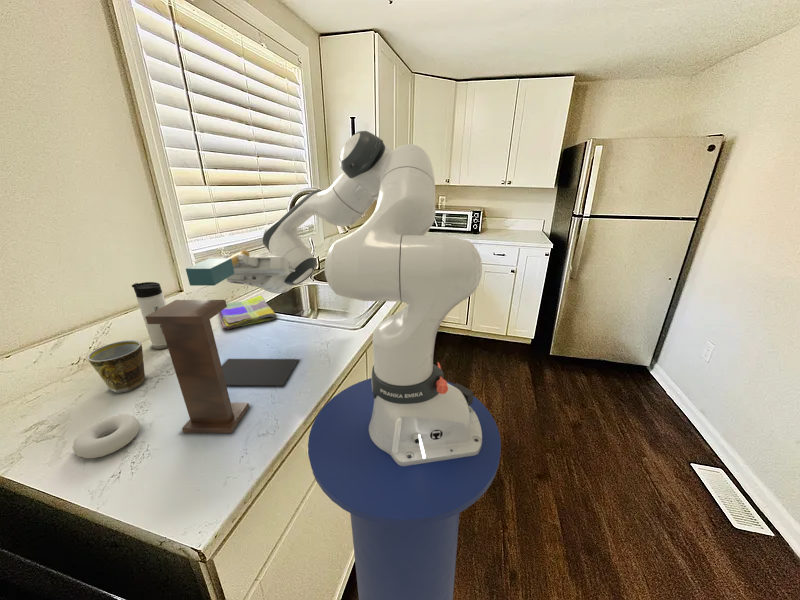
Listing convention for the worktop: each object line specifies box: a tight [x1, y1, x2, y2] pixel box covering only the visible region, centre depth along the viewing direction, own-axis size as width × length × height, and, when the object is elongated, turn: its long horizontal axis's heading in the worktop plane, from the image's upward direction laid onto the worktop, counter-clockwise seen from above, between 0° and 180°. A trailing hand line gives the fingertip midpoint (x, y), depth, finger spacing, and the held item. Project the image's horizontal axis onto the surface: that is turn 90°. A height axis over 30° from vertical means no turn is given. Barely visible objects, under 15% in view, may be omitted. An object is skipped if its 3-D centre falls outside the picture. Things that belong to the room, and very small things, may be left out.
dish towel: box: [219, 295, 278, 330], centre depth 121 cm, size 18×24×3 cm
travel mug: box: [131, 281, 168, 350], centre depth 97 cm, size 6×7×20 cm
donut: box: [72, 413, 141, 459], centre depth 64 cm, size 10×4×10 cm
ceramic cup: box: [87, 339, 146, 394], centre depth 78 cm, size 13×10×10 cm
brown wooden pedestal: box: [145, 299, 250, 434], centre depth 65 cm, size 10×8×26 cm
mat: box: [221, 358, 299, 388], centre depth 86 cm, size 20×12×1 cm, turn 88°
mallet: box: [185, 249, 250, 287], centre depth 73 cm, size 5×19×4 cm, turn 178°
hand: (233, 257), depth 76 cm, fingers closed on mallet, 2 cm apart
